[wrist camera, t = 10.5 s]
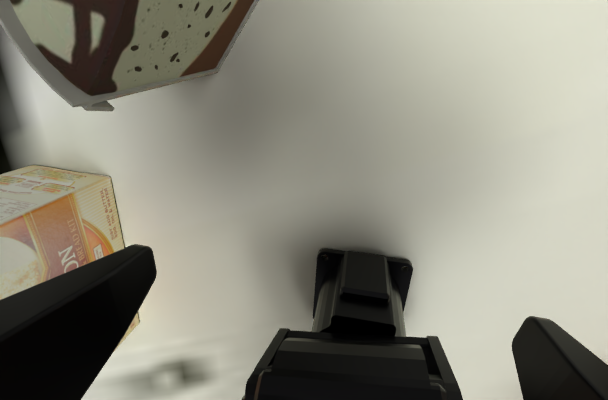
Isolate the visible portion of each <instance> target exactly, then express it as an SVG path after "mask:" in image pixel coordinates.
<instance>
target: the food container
mask: <svg viewBox="0 0 608 400" xmlns="http://www.w3.org/2000/svg"><path fill="white" fill-rule="evenodd" d="M258 1H259V0H0V24H1V25H2V27H3V29H4V30H5V32H6V34H7V35H8V37H9V38H10V40H11V41H12V42H13V44H14V45H15V46H16V48H17V49H18V50H19V52H20V53H21V54H22V56H23V57H24V58H25V60H26V61H27V62H28V63H29V65H30V66H31V67H32V68H33V69H34V70H35V71H36V72H37V74H38V75H39V76H40V77H41V78H42V79H43V80H44V81H45V82H46V83H47V84H48V85H49V86H50V87H51V88H52V89H53V90H54V91H55V92H56V93H57V94H58V95H60V96H61V97H62V98H63V99H64V100H65V101H67V102H68V103H69V104H70V105H71V106H72V107H78V106H82V107H83V108H84V109H85V110H86V111H113V109H114V107H113V106H112V105H110V104H109V103H108V102H107V100H111V99H115V98H119V97H122V96H126V95H130V94H134V93H138V92H142V91H146V90H150V89H154V88H158V87H162V86H166V85H170V84H174V83H178V82H182V81H186V80H190V79H194V78H198V77H202V76H206V75H210V74H214V73H217V72H218V71H219V69H220V67H221V65H222V64H223V62H224V60H225V58H226V57H227V55H228V53H229V51H230V50H231V48H232V46H233V45H234V43H235V41H236V39H237V38H238V36H239V34H240V32H241V31H242V29H243V27H244V25H245V24H246V22H247V20H248V19H249V17H250V15H251V13H252V12H253V10H254V8H255V6H256V5H257V3H258Z"/></svg>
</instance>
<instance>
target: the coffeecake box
mask: <svg viewBox="0 0 608 400" xmlns="http://www.w3.org/2000/svg"><path fill="white" fill-rule="evenodd" d="M121 249H124V244H123V239H122V234H121V229H120V224H119V219H118V214H117V209H116V204H115V199H114V194H113V188H112V183H111V178H110V177H109V176H104V175H97V174H90V173H79V172H73V171H67V170H61V169H57V168H51V167H44V166H37V165H32V166H27V167H24V168H20V169H17V170H14V171H10V172H7V173H4V174H1V175H0V300H1V299H4V298H6V297H8V296H11V295H13V294H16V293H18V292H20V291H23V290H25V289H28V288H30V287H32V286H35V285H37V284H40V283H42V282H44V281H47V280H49V279H52V278H54V277H56V276H59V275H61V274H64V273H66V272H68V271H71V270H73V269H76V268H78V267H80V266H83V265H85V264H88V263H90V262H92V261H95V260H97V259H100V258H102V257H104V256H107V255H109V254H112V253H114V252H116V251H119V250H121ZM137 325H139V319H138V314H136V316H135V317H134V319H133V321H132V323H131V325H130V326H129V328H128V330H127V332H126V333H125V335H124V337H123V338H122V340H121V341H120V343H119V344H118V346H119V345H120V344H121V343H122V342H123V341H124V339H125V338H126V337H127V336H128V335H129V334H130V333H131V331H132V330H133V329H134V328H135V327H136V326H137ZM118 346H117V347H118ZM117 347H116V349H117ZM116 349H115V350H116ZM115 350H114V351H115Z"/></svg>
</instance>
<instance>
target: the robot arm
mask: <svg viewBox="0 0 608 400" xmlns="http://www.w3.org/2000/svg"><path fill="white" fill-rule="evenodd" d="M322 255H327V256H328V257H327V258H324V257H323V256H322ZM404 266H407V267H408V268H407V269H403V268H402V267H404ZM156 272H157V271H156V265H155V260H154V255H153V251H152V249H151V248H150V247H148V246H143V245H138V244H134V245H131V246H128V247H126V248H124V249H121V250H119V251H116V252H114V253H112V254H109V255H107V256H104V257H102V258H100V259H97V260H95V261H92V262H90V263H88V264H85V265H83V266H80V267H78V268H76V269H73V270H71V271H68V272H66V273H64V274H61V275H59V276H56V277H54V278H52V279H49V280H47V281H44V282H42V283H40V284H37V285H35V286H32V287H30V288H28V289H25V290H23V291H20V292H18V293H16V294H13V295H11V296H8V297H6V298H4V299H1V300H0V400H81V399H82V397H83V396H84V394H85V393H86V391H87V390H88V388H89V387H90V385H91V384H92V382H93V381H94V379H95V378H96V377H97V375H98V374H99V372H100V371H101V369H102V368H103V366H104V365H105V363H106V362H107V360H108V359H109V357H110V356H111V354H112V353H113V352H114V350H115V349H116V347H117V346H118V344H119V343H120V341H121V340H122V338H123V337H124V335H125V333H126V332H127V330H128V328H129V326H130V325H131V323H132V321H133V319H134V317H135V316H136V314H137V312H138V310H139V308H140V306H141V305H142V303H143V301H144V299H145V297H146V295H147V294H148V292H149V290H150V288H151V286H152V284H153V283H154V281H155V278H156ZM412 272H413V267H412V264H411V262H410V261H408V260H403V259H396V258H389V257H384V256H383V255H375V254H368V253H361V252H354V251H347V252H346V251H339V250H332V249H321V250H320V251H319V253H318V257H317V269H316V283H315V296H314V309H313V318H314V322H313V327H312V332H306V331H290V329H284V328H280V329H279V331H278V333H277V334H276V336H275V337H274V339H273V340H272V342H271V344H270V345H269V347H268V348H267V350H266V352H265V353H264V355H263V356H262V358H261V359H260V361H259V363H258V364H257V366H256V367H255V369H254V371H253V373H252V374H251V376H250V378H249V379H248V381H247V384H246V390H245V396H244V397H243V398H242V400H463V398H462V395H461V391H460V389H459V386H458V383H457V381H456V378H455V376H454V374H453V371H452V369H451V367H450V364H449V362H448V360H447V357H446V355H445V353H444V350H443V348H442V346H441V343H440V341H439V339H438V337H437V336H427V337H426V338H420V337H406V332H405V325H404V318H403V311H404V307H405V302H406V298H407V294H408V289H409V285H410V281H411V276H412ZM512 351H513V356H514V360H515V364H516V369H517V373H518V377H519V382H520V386H521V391H522V395H523V399H524V400H608V365H607V364H606V363H604V362H603V361H602V360H601V359H599V358H598V357H597V356H596V355H594V354H593V353H592V352H591V351H589V350H588V349H587V348H586V347H584V346H583V345H582V344H581V343H579V342H578V341H577V340H576V339H574V338H573V337H572V336H571V335H569V334H568V333H567V332H566V331H564V330H563V329H562V328H561V327H559V326H558V325H557V324H556V323H554V322H553V321H551V320H549V319H545V318H540V317H534V316H530V317H528V318H526V319H525V321H524V322H523V324H522V326H521V327H520V329H519V330H518V332H517V334H516V335H515V337H514V339H513V342H512Z"/></svg>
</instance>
